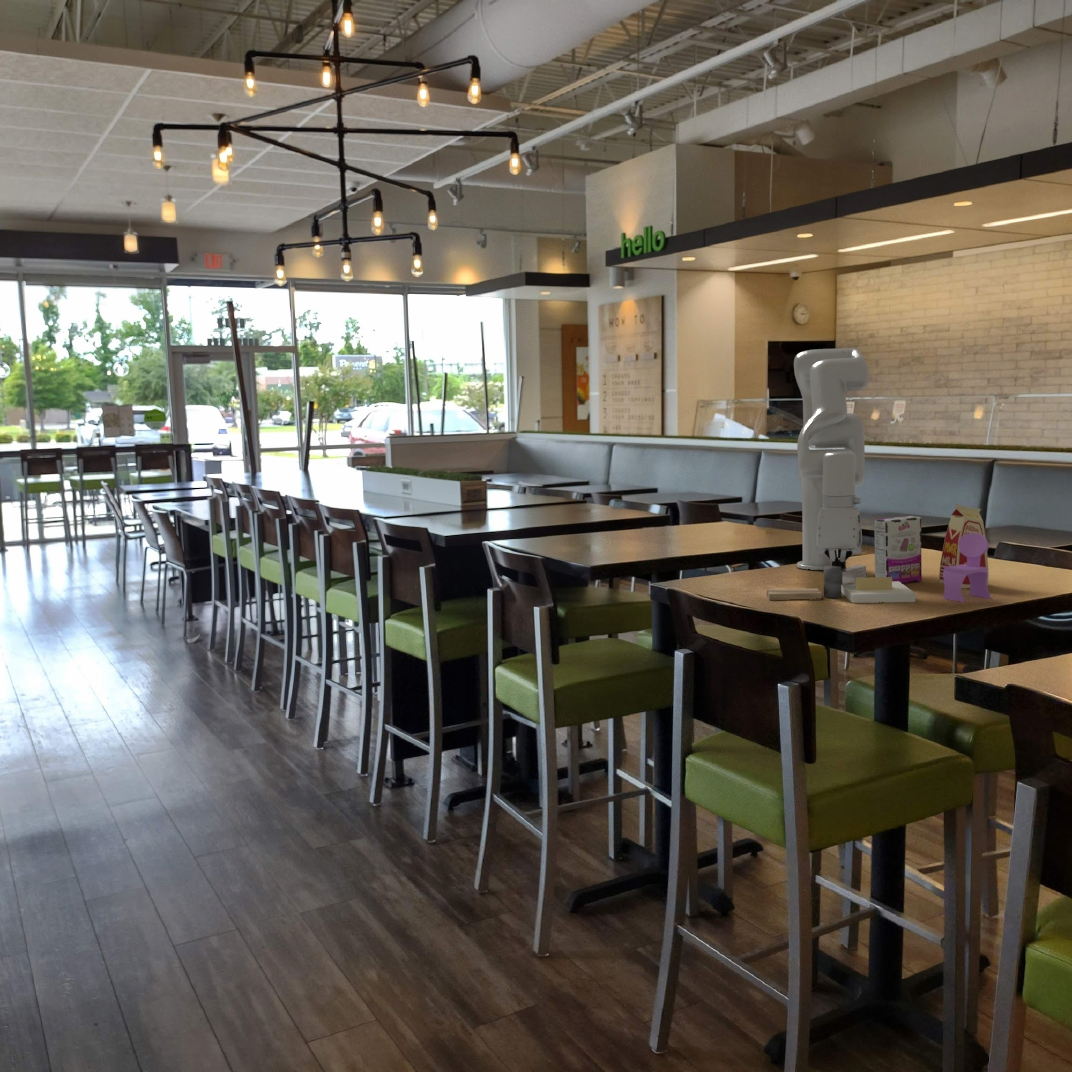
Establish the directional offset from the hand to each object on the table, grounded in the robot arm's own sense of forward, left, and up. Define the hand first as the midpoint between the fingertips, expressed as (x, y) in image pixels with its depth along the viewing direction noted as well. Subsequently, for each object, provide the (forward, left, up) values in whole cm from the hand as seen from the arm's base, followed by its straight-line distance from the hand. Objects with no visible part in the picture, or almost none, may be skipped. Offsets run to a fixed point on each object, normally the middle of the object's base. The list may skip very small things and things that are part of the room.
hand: (838, 576), depth 248 cm
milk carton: (-5, +31, -3) cm, 32 cm away
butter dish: (+9, +7, -3) cm, 12 cm away
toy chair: (+14, +26, -4) cm, 30 cm away
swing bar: (+2, +2, -1) cm, 3 cm away
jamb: (+9, -9, -3) cm, 13 cm away
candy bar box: (-9, +16, -4) cm, 19 cm away
